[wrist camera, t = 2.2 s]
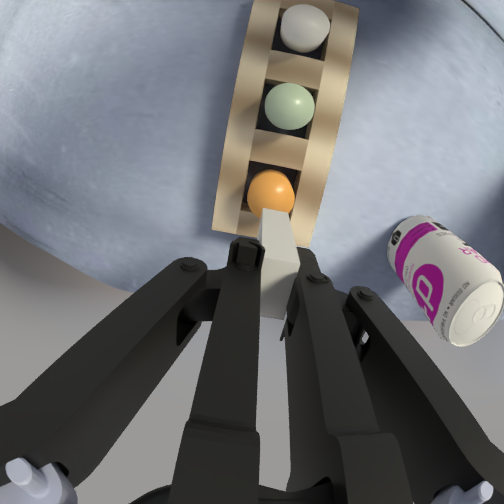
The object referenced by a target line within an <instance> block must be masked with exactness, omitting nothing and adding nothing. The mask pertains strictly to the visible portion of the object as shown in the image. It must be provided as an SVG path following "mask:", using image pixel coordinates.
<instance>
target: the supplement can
mask: <svg viewBox="0 0 504 504" xmlns="http://www.w3.org/2000/svg"><path fill="white" fill-rule="evenodd" d="M387 256H388V261H389V264H390V266H391V267H392V268H393V270H394V271H395V272H396V274H397V275H398V276H399V278H400V279H401V281H402V282H403V283H404V285H405V286H406V287H407V289H408V290H409V292H410V293H411V294H412V296H413V297H414V299H415V300H416V302H417V303H418V304H419V306H420V307H421V309H422V310H423V312H424V313H425V315H426V316H427V318H428V319H429V321H430V322H431V324H432V325H433V327H434V329H435V330H436V332H437V333H438V335H439V336H440V338H441V339H444V340H446V341H449V342H451V343H452V344H453V345H455V346H458V347H463V346H468V345H470V344H472V343H475V342H477V341H478V340H479V339H481V338H482V337H483V336H485V335H486V334H487V333H488V331H490V329H491V328H492V327H493V326H494V325H495V323H496V322H497V320H498V319H499V317H500V315H501V313H502V311H503V308H504V284H503V282H502V279H501V275H500V272H499V271H498V270H497V269H496V268H495V267H494V266H493V265H492V264H491V263H490V262H488V261H487V260H486V259H485V258H484V257H482V256H481V255H480V254H479V253H477V252H476V251H475V250H474V249H472V248H471V247H470V246H469V245H467V244H466V243H465V242H464V241H462V240H461V239H460V238H458V237H457V236H456V235H454V234H453V233H452V232H450V231H449V230H448V229H446V228H445V227H443V226H442V225H441V224H439V223H438V222H436V221H435V220H434V219H432V218H431V217H429V216H425V215H416V216H412V217H409V218H407V219H406V220H404V221H403V222H401V223H400V224H399V225H398V227H397V228H396V229H395V230H394V232H393V233H392V236H391V238H390V240H389V243H388V250H387Z"/></svg>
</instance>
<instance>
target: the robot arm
mask: <svg viewBox="0 0 504 504" xmlns="http://www.w3.org/2000/svg"><path fill="white" fill-rule="evenodd" d="M286 310H287V319H286V322H285V325H284V328H283V331H282V335H281V337H280V341H282V340H283V337H285V349H286V366H287V383H288V384H287V385H288V405H289V429H290V460H291V472H290V477H289V480H288V483H287V487H286V492H285V491H281V490H277V489H273V488H269V487H265V486H262V485H259V464H260V463H259V462H260V436H259V433H258V432H257V431H256V405H257V380H258V354H259V326H260V316H263V317H268V318H275V319H281V320H284V317H285V313H286ZM202 321H212V325H211V329H210V333H209V337H208V341H207V345H206V350H205V353H204V357H203V362H202V366H201V370H200V374H199V378H198V382H197V387H196V391H195V395H194V400H193V404H192V408H191V413H190V417H189V420H188V421H187V422H186V424H185V427H184V431H183V435H182V439H181V444H180V448H179V453H178V457H177V461H176V466H175V471H174V475H173V480H172V484H171V485H166V486H163V487H160V488H157V489H155V490H152V491H150V492H148V493H146V494H144V495H143V496H141V497H139V498H138V499H136V500H134V501H133V502H131V503H129V504H413V502H414V503H415V504H504V453H503V452H502V451H501V450H499V449H498V448H497V447H496V446H495V445H494V444H493V443H491V442H490V440H489V439H488V437H487V436H486V434H485V433H484V431H483V430H482V428H481V427H480V425H479V424H478V422H477V421H476V419H475V418H474V416H473V415H472V413H471V412H470V411H469V409H468V408H467V406H466V405H465V403H464V402H463V401H462V399H461V398H460V397H459V395H458V394H457V392H456V391H455V390H454V388H453V387H452V386H451V384H450V383H449V382H448V380H447V379H446V378H445V376H444V375H443V374H442V372H441V371H440V370H439V369H438V367H437V366H436V365H435V363H434V362H433V361H432V360H431V358H430V357H429V356H428V355H427V353H426V352H425V351H424V349H423V348H422V347H421V346H420V345H419V343H418V342H417V341H416V340H415V339H414V337H413V336H412V335H411V334H410V332H409V331H408V330H407V329H406V328H405V326H404V325H403V324H402V323H401V322H400V320H399V319H398V318H397V317H396V316H395V315H394V313H393V312H392V311H391V310H390V309H389V308H388V306H387V305H386V304H385V303H384V302H383V301H382V300H381V298H380V297H379V296H378V295H377V294H376V293H375V292H373V291H371V290H370V289H369V288H366V287H360V286H355V287H352V288H351V289H350V291H349V294H346V293H343V292H340V291H338V290H335V289H334V287H333V284H332V281H331V280H330V278H329V277H327V276H326V275H324V274H322V273H321V272H320V269H319V266H318V263H317V260H316V257H315V254H314V253H313V252H312V251H311V250H309V249H306V248H301V247H296V243H295V239H294V235H293V231H292V227H291V223H290V219H289V215H288V213H287V212H282V211H277V210H272V209H267V208H263V210H262V215H261V220H260V225H259V230H258V235H257V240H254V239H248V238H243V237H239V238H237V239H236V240H235V241H232V242H231V244H230V249H229V256H228V262H227V266H226V267H225V268H222V269H218V270H207V265H206V264H205V263H204V262H203V261H201V260H199V259H195V258H192V257H189V258H188V257H184V258H179V259H177V260H175V261H173V262H172V263H171V264H169V265H168V266H167V267H166V268H164V269H163V270H162V271H161V272H159V273H158V274H157V275H156V276H154V277H153V278H152V279H151V280H150V281H148V282H147V283H146V284H145V285H143V286H142V287H141V288H140V289H139V290H137V291H136V292H135V293H134V294H132V295H131V296H130V297H129V298H128V299H126V300H125V301H124V302H123V303H122V304H121V305H119V306H118V307H117V308H116V309H115V310H113V311H112V312H111V313H110V314H109V315H108V316H106V317H105V318H104V319H103V320H102V321H100V322H99V323H98V324H97V325H96V326H95V327H93V328H92V329H91V330H90V331H89V332H88V333H87V334H86V335H84V336H83V337H82V338H81V339H80V340H79V341H78V342H76V343H75V344H74V345H73V346H72V347H71V348H70V349H68V350H67V351H66V352H65V353H64V354H63V355H62V356H61V357H60V358H59V359H57V360H56V361H55V362H54V363H53V364H52V365H51V366H50V367H49V368H48V369H47V370H45V371H44V372H43V373H42V374H41V375H40V376H39V377H38V378H37V379H36V380H35V381H34V382H33V383H32V384H31V385H30V386H29V387H27V388H26V389H25V390H24V391H23V392H22V393H21V394H20V395H19V396H18V397H17V398H16V399H15V400H13V401H11V402H9V403H6V404H4V405H2V406H0V504H77V495H76V491H75V490H74V488H75V487H76V486H78V485H79V484H80V483H81V482H83V481H84V480H85V479H86V478H87V477H88V476H89V475H90V474H91V473H92V472H93V471H94V470H95V468H96V467H97V466H98V465H99V464H100V462H101V461H102V460H103V458H104V457H105V456H106V454H107V453H108V451H109V450H110V449H111V447H112V446H113V445H114V443H115V442H116V441H117V439H118V438H119V436H120V435H121V434H122V432H123V431H124V430H125V428H126V427H127V426H128V424H129V423H130V422H131V420H132V419H133V418H134V416H135V415H136V413H137V412H138V411H139V409H140V408H141V407H142V405H143V404H144V403H145V401H146V400H147V398H148V397H149V396H150V394H151V393H152V392H153V390H154V389H155V388H156V386H157V385H158V384H159V382H160V381H161V379H162V378H163V377H164V375H165V374H166V373H167V371H168V370H169V369H170V367H171V366H172V364H173V363H174V361H175V360H176V359H177V358H178V356H179V355H180V353H181V352H182V351H183V349H184V348H185V347H186V345H187V344H188V343H189V341H190V340H191V338H192V337H193V336H194V334H195V333H196V332H197V330H198V329H199V327H200V326H201V323H202ZM365 331H366V332H367V333H368V335H369V338H368V340H367V342H366V343H364V342H363V341H362V337H363V335H364V333H365Z"/></svg>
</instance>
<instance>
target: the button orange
mask: <svg viewBox="0 0 504 504" xmlns="http://www.w3.org/2000/svg"><path fill="white" fill-rule="evenodd" d="M294 200H295V196H294V191H293V189H292V186H291V184H290V181H289V179H288V178H287V177H286V176H285V175H284V174H283V173H282V172H280V171H278V170H274V169H266V170H263V171H261V172H259V173H257V174H256V175H255V176H254V178H253V179H252V181H251V183H250V187H249V190H248V195H247V201H248V205H249V208H250V209H251V211H252V212H253V213H254V214H255V215H256V216H257V217H259V218H261V215H262V210H263V208H267V209H272V210H277V211H282V212H287V213H289V212H290V211H291V209H292V207H293V205H294Z"/></svg>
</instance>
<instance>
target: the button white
mask: <svg viewBox="0 0 504 504" xmlns="http://www.w3.org/2000/svg"><path fill="white" fill-rule="evenodd" d="M329 30H330V22H329V19H328V17H327V16H326V14H325V13H324V12H323V11H321V10H320V9H318V8H316V7H314V6H311V5H306V4H300V5H295V6H292V7H290V8H289V9H287V10H286V11H285V13H284V14H283V17H282V23H281V30H280V36H281V39H282V41H283V43H284V44H285V45H286V46H287V47H288V48H290V49H292V50H294V51H297V52H303V53H304V52H311V51H313V50H315V49H317V48H318V47H319V46H320V44H321V43H322V42H323V40H324V39H325V37H326V36H327V34H328V33H329Z"/></svg>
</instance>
